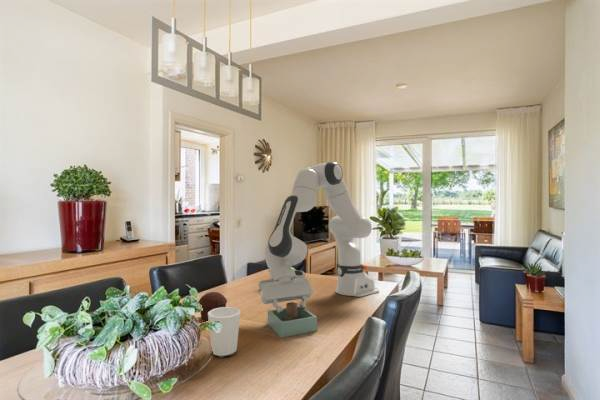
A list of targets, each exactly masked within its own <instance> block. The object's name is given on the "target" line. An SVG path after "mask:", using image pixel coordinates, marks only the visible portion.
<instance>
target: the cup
mask: <svg viewBox="0 0 600 400" xmlns="http://www.w3.org/2000/svg"><path fill="white" fill-rule="evenodd" d="M240 318H241V310H240V309H239V308H238V307H234V306H226V307H220V308H216V309H213V310H211V311H209V312H208V320H209V321H219V322H220V323H221V324H222V326H223V329H222V331H221V332H220V333H215V332H213V331H211V330H209V338H210V347H212V348H213V349H214V355H213V356H214V357H215V356H217V357H218V358H220V359H223V358H225V357H226V356H229V357H232V356H234V355H235V353H236V352H237V350H238V342H239V328H240V321H241V319H240Z"/></svg>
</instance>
